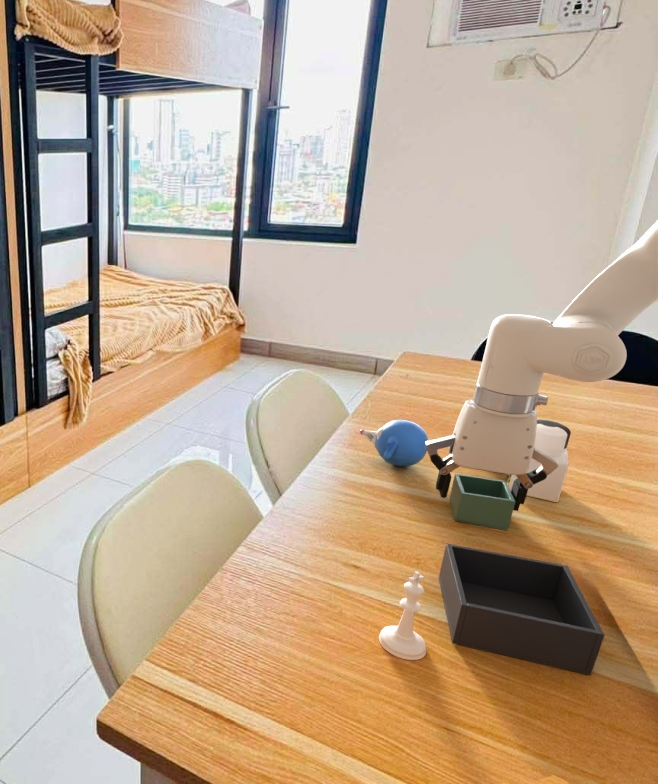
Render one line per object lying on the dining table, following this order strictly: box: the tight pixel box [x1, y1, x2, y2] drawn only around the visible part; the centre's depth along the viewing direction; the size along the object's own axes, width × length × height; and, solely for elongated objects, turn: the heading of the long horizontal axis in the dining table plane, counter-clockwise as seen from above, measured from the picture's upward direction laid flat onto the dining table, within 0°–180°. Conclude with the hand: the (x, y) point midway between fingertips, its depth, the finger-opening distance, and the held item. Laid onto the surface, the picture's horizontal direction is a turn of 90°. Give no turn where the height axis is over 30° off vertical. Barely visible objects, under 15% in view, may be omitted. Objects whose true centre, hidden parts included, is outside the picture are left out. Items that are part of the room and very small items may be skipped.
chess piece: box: [378, 570, 427, 661], centre depth 71 cm, size 5×5×10 cm
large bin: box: [438, 543, 605, 676], centre depth 75 cm, size 13×13×6 cm
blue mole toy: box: [359, 419, 429, 467], centre depth 116 cm, size 12×12×8 cm
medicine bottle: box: [506, 419, 572, 503], centre depth 105 cm, size 7×7×12 cm
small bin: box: [448, 473, 515, 531], centre depth 98 cm, size 7×7×5 cm
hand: (477, 500), depth 99 cm, fingers open, 9 cm apart
